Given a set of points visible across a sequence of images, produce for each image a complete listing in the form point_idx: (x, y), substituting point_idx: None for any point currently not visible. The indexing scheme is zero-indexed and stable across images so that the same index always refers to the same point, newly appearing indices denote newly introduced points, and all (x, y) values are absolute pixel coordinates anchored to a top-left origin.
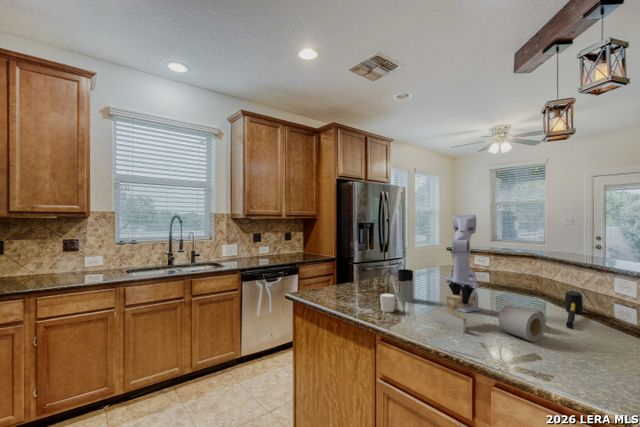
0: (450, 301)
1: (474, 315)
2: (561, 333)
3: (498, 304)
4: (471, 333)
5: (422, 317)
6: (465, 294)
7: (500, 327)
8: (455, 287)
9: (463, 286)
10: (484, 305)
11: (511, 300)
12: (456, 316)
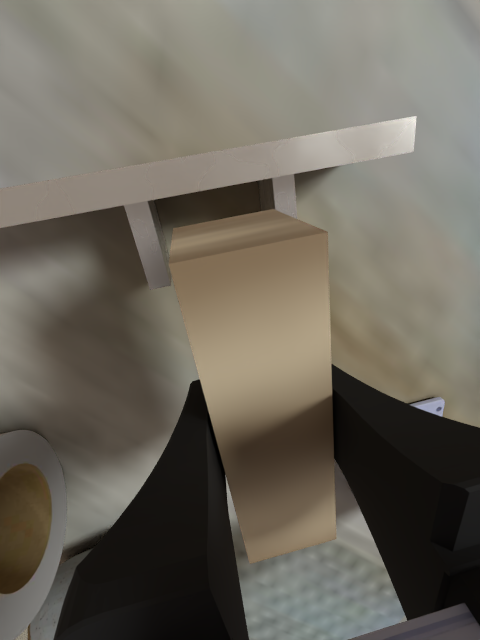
0: (234, 234)
1: None
2: None
3: (370, 570)
4: (24, 239)
5: (419, 87)
6: (151, 482)
7: (11, 432)
8: (401, 499)
9: (210, 638)
10: None
11: (380, 613)
12: (82, 185)
